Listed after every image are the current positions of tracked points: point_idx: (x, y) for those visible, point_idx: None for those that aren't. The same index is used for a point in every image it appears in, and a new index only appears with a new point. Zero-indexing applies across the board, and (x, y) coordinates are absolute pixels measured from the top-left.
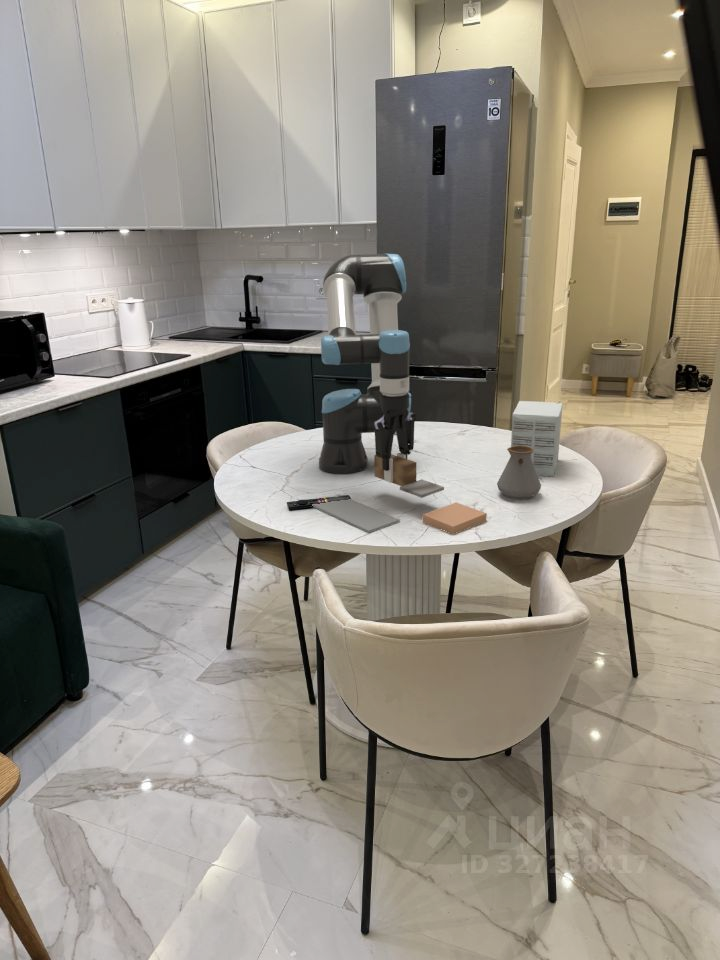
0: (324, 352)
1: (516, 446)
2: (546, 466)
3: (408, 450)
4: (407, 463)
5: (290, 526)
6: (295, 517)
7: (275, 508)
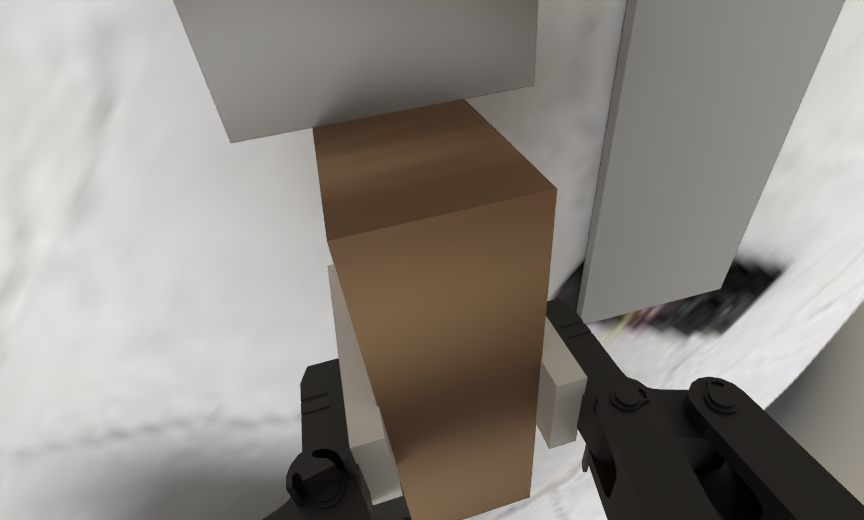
0: None
1: None
2: None
3: (302, 513)
4: (468, 251)
5: None
6: (834, 208)
7: (783, 305)
